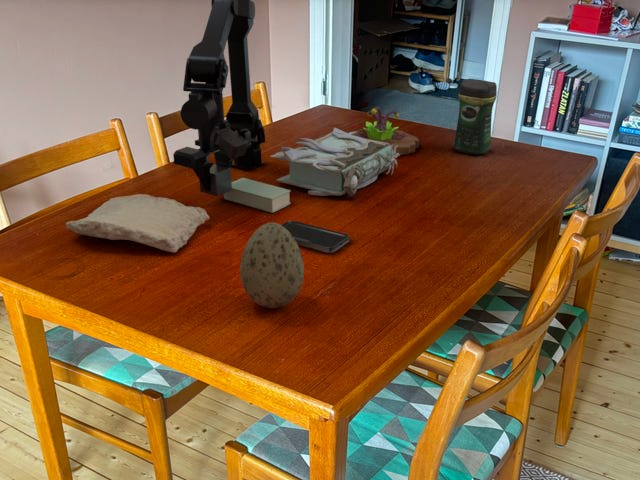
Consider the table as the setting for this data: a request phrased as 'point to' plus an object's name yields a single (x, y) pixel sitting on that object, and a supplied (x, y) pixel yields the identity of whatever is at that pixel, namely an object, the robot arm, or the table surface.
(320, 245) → the phone
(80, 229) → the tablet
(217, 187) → the block
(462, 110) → the coffee jar
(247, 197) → the pocket book
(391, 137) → the plant
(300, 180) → the ornate book
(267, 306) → the decorative egg
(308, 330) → the table surface
